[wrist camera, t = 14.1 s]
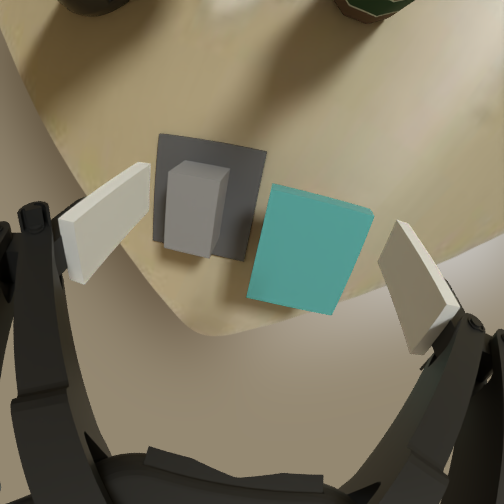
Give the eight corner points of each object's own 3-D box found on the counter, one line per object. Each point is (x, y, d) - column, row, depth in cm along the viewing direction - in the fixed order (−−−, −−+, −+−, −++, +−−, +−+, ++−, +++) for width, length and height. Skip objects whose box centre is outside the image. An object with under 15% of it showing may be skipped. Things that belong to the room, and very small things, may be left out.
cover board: (248, 287, 37) (246, 297, 36) (272, 183, 30) (271, 189, 28) (330, 305, 37) (331, 315, 35) (369, 208, 30) (374, 216, 28)
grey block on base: (154, 239, 43) (136, 259, 38) (160, 133, 34) (138, 141, 29) (244, 260, 42) (237, 284, 37) (267, 151, 34) (262, 162, 29)
